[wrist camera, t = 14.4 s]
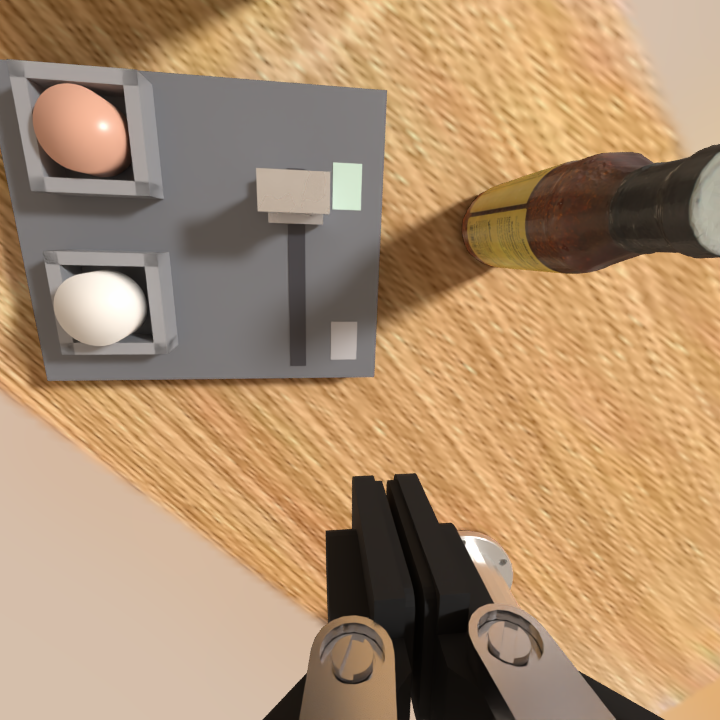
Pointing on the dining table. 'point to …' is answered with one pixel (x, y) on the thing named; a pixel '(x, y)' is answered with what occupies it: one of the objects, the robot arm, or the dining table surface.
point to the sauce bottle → (598, 213)
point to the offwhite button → (100, 307)
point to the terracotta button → (82, 130)
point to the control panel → (205, 224)
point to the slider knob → (293, 195)
